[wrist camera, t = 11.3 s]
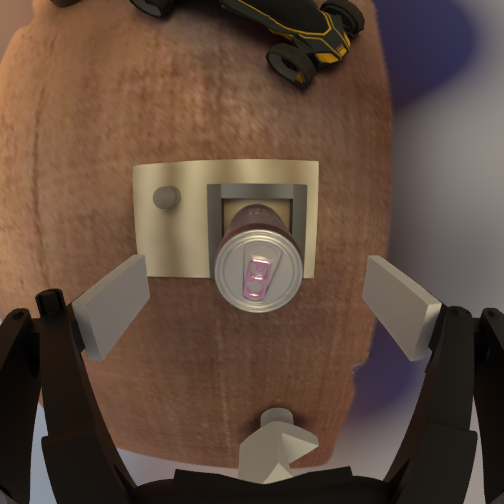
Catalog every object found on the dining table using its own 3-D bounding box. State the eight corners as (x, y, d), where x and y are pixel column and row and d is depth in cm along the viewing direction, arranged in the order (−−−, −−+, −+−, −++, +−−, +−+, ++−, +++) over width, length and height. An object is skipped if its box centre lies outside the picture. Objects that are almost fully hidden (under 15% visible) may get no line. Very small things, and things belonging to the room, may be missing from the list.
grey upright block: (279, 435, 45) (285, 518, 26) (241, 419, 44) (236, 510, 25) (311, 411, 43) (329, 501, 24) (273, 393, 42) (280, 494, 23)
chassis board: (148, 268, 36) (131, 284, 30) (142, 166, 32) (121, 165, 27) (309, 270, 36) (318, 287, 30) (313, 162, 32) (324, 159, 26)
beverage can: (226, 248, 32) (204, 306, 18) (236, 198, 31) (219, 217, 16) (276, 258, 32) (292, 322, 18) (287, 209, 31) (316, 237, 16)
